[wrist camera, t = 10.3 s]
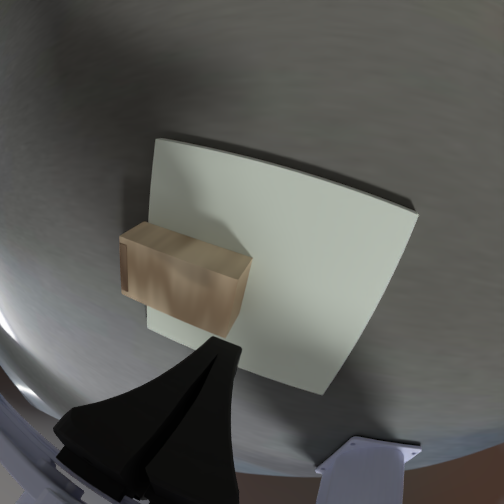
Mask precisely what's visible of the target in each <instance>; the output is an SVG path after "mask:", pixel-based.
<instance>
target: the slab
mask: <svg viewBox="0 0 504 504" xmlns="http://www.w3.org/2000/svg"><path fill="white" fill-rule="evenodd" d="M119 239H120V271H121V289H122V294H124V295H126V296H128V297H130V298H132V299H134V300H136V301H138V302H141V303H143V304H145V305H147V306H149V307H151V308H154V309H156V310H158V311H160V312H162V313H165V314H167V315H169V316H172V317H174V318H176V319H179V320H181V321H183V322H186V323H188V324H190V325H193V326H195V327H198V328H200V329H202V330H205V331H207V332H210V333H212V334H215V335H218V336H220V337H223V338H226V337H227V335H228V333H229V331H230V330H231V328H232V326H233V324H234V322H235V321H236V319H237V317H238V315H239V313H240V309H241V305H242V301H243V297H244V292H245V288H246V284H247V280H248V276H249V272H250V267H251V263H252V259H253V258H252V257H249V256H246V255H243V254H240V253H237V252H234V251H231V250H228V249H225V248H222V247H219V246H216V245H213V244H210V243H207V242H204V241H201V240H198V239H195V238H192V237H189V236H186V235H183V234H180V233H177V232H174V231H171V230H168V229H166V228H163V227H160V226H157V225H154V224H151V223H148V222H145V221H144V222H142V223H140V224H139V225H137V226H135V227H134V228H132V229H130V230H129V231H127V232H125V233H124V234H122V235H120V236H119Z"/></svg>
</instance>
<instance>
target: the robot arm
mask: <svg viewBox="0 0 504 504" xmlns="http://www.w3.org/2000/svg"><path fill="white" fill-rule="evenodd" d="M242 350H243V349H242V348H241V347H240V346H238V345H235V344H233V343H230V342H227V341H225V340H222V339H220V338H217V337H215V336H212V337H210V338H209V339H208V340H207V341H206V342H205V343H204V344H203V345H201V346H200V347H199V348H198V349H197V350H196V351H194V352H193V353H192V354H191V355H189V356H188V357H187V358H185V359H184V360H183V361H181V362H180V363H179V364H177V365H176V366H174V367H173V368H171V369H170V370H168V371H167V372H165V373H163V374H162V375H160V376H159V377H157V378H155V379H153V380H151V381H150V382H148V383H146V384H144V385H142V386H140V387H138V388H135V389H133V390H131V391H129V392H126V393H124V394H121V395H119V396H116V397H113V398H109V399H106V400H103V401H100V402H96V403H92V404H88V405H83V406H78V407H74V408H72V409H71V410H69V411H68V412H67V413H66V414H65V415H64V416H63V417H62V418H61V419H60V420H59V422H58V423H57V424H56V425H55V426H54V428H53V430H54V433H55V434H56V436H57V437H58V438H59V439H60V441H61V442H62V443H63V444H64V445H65V446H64V447H63V448H62V450H61V451H60V450H59V449H57V448H56V447H55V446H54V445H53V444H51V443H50V442H49V441H48V440H47V439H45V438H44V437H43V436H42V435H41V434H40V433H39V432H38V431H37V430H35V429H34V428H33V427H32V426H31V425H30V424H29V423H28V422H27V421H26V420H25V419H24V418H23V417H22V416H21V415H20V414H19V413H18V412H17V411H16V410H15V409H14V408H13V407H12V406H11V405H10V404H9V403H8V402H7V400H6V399H5V398H4V397H3V396H2V395H1V393H0V463H1V464H2V465H3V466H4V468H5V469H6V470H7V471H8V472H9V474H10V475H11V476H12V477H13V478H14V479H15V480H16V481H17V482H18V484H19V485H20V486H21V487H22V488H23V489H24V490H25V491H24V492H23V494H22V495H21V496H20V498H19V499H18V500H17V501H16V503H15V504H87V503H86V502H84V501H83V500H81V497H82V495H83V494H84V491H83V490H82V489H81V488H79V487H78V486H77V485H75V484H74V483H73V482H71V481H70V480H69V479H68V478H67V477H65V476H64V475H63V474H61V473H60V472H59V471H58V470H57V469H56V464H57V465H58V466H60V467H61V468H62V469H63V470H65V471H66V472H67V473H69V474H70V475H71V476H72V477H74V478H75V479H77V480H78V481H79V482H81V483H82V484H83V485H85V486H86V487H88V488H89V489H91V490H92V491H94V492H95V493H97V494H98V495H100V496H101V497H103V498H105V499H106V500H108V501H109V502H111V503H112V504H140V503H138V502H137V501H135V500H133V498H135V499H137V500H139V501H140V500H147V499H148V500H149V501H150V503H149V504H239V490H238V485H237V480H236V474H235V468H234V461H233V452H232V441H231V399H232V389H233V381H234V377H235V374H236V371H237V367H238V364H239V360H240V357H241V353H242ZM421 451H422V447H421V446H415V445H406V444H399V443H392V442H386V441H380V440H374V439H369V438H363V437H358V436H354V437H352V438H350V439H349V440H348V441H347V442H346V443H345V444H344V445H343V446H342V447H341V448H339V449H338V450H337V451H336V452H335V453H334V454H333V455H331V456H330V457H329V458H328V459H327V460H326V461H324V462H323V463H322V464H321V465H319V466H318V467H317V468H316V469H315V472H317V473H321V474H323V475H322V479H321V484H320V488H319V492H318V497H317V501H316V504H402V498H403V482H404V463H405V462H407V461H408V460H410V459H411V458H413V457H414V456H415V455H417V454H418V453H419V452H421ZM54 462H55V463H56V464H55V463H54Z"/></svg>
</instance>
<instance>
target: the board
mask: <svg viewBox="0 0 504 504" xmlns="http://www.w3.org/2000/svg"><path fill="white" fill-rule="evenodd" d="M418 216H419V215H418V213H417V212H416V211H414V210H412V209H409V208H407V207H404V206H402V205H399V204H396V203H394V202H391V201H389V200H386V199H383V198H381V197H378V196H375V195H372V194H370V193H367V192H364V191H361V190H358V189H355V188H353V187H350V186H347V185H344V184H341V183H338V182H335V181H332V180H329V179H325V178H322V177H319V176H316V175H313V174H309V173H306V172H303V171H299V170H296V169H293V168H289V167H286V166H282V165H278V164H275V163H271V162H267V161H264V160H260V159H256V158H252V157H248V156H244V155H240V154H236V153H232V152H228V151H223V150H219V149H215V148H210V147H205V146H201V145H196V144H191V143H186V142H181V141H176V140H171V139H165V138H158V139H156V141H155V149H154V158H153V167H152V177H151V188H150V201H149V217H148V223H151V224H154V225H157V226H160V227H163V228H166V229H168V230H171V231H174V232H177V233H180V234H183V235H186V236H189V237H192V238H195V239H198V240H201V241H204V242H207V243H210V244H213V245H216V246H219V247H222V248H225V249H228V250H231V251H234V252H237V253H240V254H243V255H246V256H249V257H252V258H253V259H252V263H251V267H250V272H249V276H248V280H247V284H246V288H245V292H244V297H243V301H242V305H241V309H240V313H239V315H238V317H237V319H236V321H235V322H234V324H233V326H232V328H231V330H230V331H229V333H228V335H227V337H226V338H223V337H220V336H218V335H215V334H212V333H210V332H207V331H205V330H202V329H200V328H198V327H195V326H193V325H190V324H188V323H186V322H183V321H181V320H179V319H176V318H174V317H172V316H169V315H167V314H165V313H162V312H160V311H158V310H156V309H154V308H151V307H149V306H147V327H148V329H151V330H153V331H155V332H157V333H159V334H161V335H163V336H165V337H167V338H170V339H172V340H174V341H176V342H178V343H181V344H183V345H185V346H187V347H190V348H192V349H194V350H197V349H198V348H199V347H200V346H201V345H203V344H204V343H205V342H206V341H207V340H208V339H209V338H210V337H212V336H215V337H217V338H220V339H222V340H225V341H227V342H230V343H233V344H235V345H238V346H240V347H241V348H242V349H243V350H242V353H241V357H240V360H239V364H238V367H239V368H241V369H244V370H247V371H249V372H252V373H255V374H258V375H260V376H263V377H266V378H269V379H272V380H275V381H278V382H281V383H284V384H287V385H290V386H293V387H296V388H300V389H303V390H306V391H309V392H313V393H316V394H320V395H323V394H324V392H325V391H326V389H327V388H328V387H329V385H330V384H331V382H332V381H333V379H334V378H335V376H336V374H337V373H338V371H339V370H340V368H341V367H342V365H343V364H344V362H345V360H346V359H347V357H348V356H349V354H350V352H351V351H352V349H353V347H354V346H355V344H356V342H357V341H358V339H359V337H360V335H361V334H362V332H363V330H364V328H365V327H366V325H367V323H368V321H369V320H370V318H371V316H372V314H373V312H374V310H375V309H376V307H377V305H378V303H379V301H380V299H381V297H382V295H383V293H384V291H385V289H386V287H387V285H388V283H389V281H390V279H391V277H392V275H393V273H394V271H395V269H396V267H397V265H398V262H399V260H400V258H401V256H402V254H403V251H404V249H405V247H406V245H407V242H408V240H409V238H410V235H411V233H412V231H413V228H414V226H415V223H416V221H417V218H418Z"/></svg>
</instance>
